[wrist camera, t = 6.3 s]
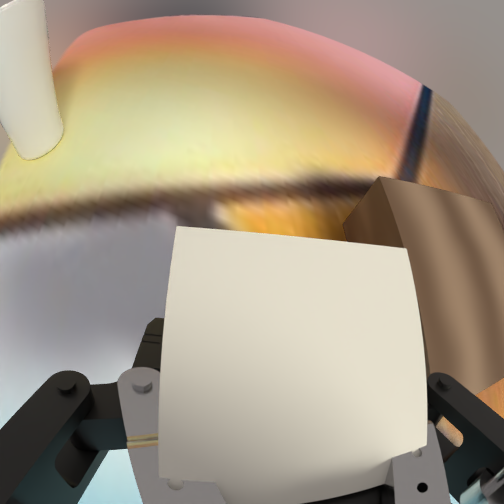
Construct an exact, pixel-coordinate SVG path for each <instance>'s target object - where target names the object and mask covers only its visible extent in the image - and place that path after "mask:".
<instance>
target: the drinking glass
mask: <svg viewBox="0 0 504 504" xmlns="http://www.w3.org/2000/svg"><path fill="white" fill-rule="evenodd" d="M0 123H1V125H2V127H3V128H4V130H5V132H6V133H7V135H8V137H9V139H10V140H11V142H12V144H13V146H14V148H15V150H16V152H17V153H18V155H19V156H20V157H21V158H22V159H25V160H33V159H37V158H39V157H41V156H43V155H45V154H47V153H48V152H49V151H51V150H52V149H53V148H54V147H55V146H56V145H57V144H58V143H59V141H60V140H61V138H62V136H63V132H64V126H63V122H62V119H61V116H60V113H59V108H58V103H57V98H56V93H55V87H54V81H53V74H52V66H51V58H50V48H49V37H48V28H47V19H46V12H45V6H44V0H14V1H11V2H10V3H7V4H6V5H4V6H2V7H0Z"/></svg>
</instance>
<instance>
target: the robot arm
mask: <svg viewBox="0 0 504 504" xmlns="http://www.w3.org/2000/svg"><path fill="white" fill-rule="evenodd" d="M163 329H164V318H155V319H154V320H152V321H151V322H150V323H149V324H148V325H147V328H146V330H145V333H144V336H143V338H142V342H141V344H140V347H139V349H138V352H137V355H136V358H135V361H134V364H133V367H132V369H129V370H127V371H125V372H124V373H122V374H121V376H120V377H119V379H118V381H117V382H114V383H110V384H95V385H90V383H89V381H88V379H87V378H86V377H85V376H84V375H83V374H81V373H79V372H76V371H70V370H69V371H61V372H58V373H56V374H54V375H52V376H51V377H50V378H49V379H48V380H47V381H46V382H45V383H44V384H43V385H42V386H41V387H40V388H39V389H38V390H37V391H36V392H35V393H34V394H33V395H32V396H31V397H30V398H29V399H28V400H27V401H26V402H25V404H24V405H23V406H22V407H21V408H20V409H19V410H18V411H17V412H16V413H15V414H14V415H13V416H12V417H11V419H10V420H9V421H8V422H7V423H6V424H5V425H4V426H3V427H2V428H1V430H0V504H77V503H78V502H79V500H80V498H81V497H82V495H83V493H84V491H85V490H86V488H87V486H88V485H89V483H90V481H91V480H92V478H93V476H94V474H95V473H96V471H97V469H98V468H99V466H100V464H101V463H102V461H103V459H104V458H105V456H106V454H107V453H108V451H109V450H117V449H128V452H129V456H130V460H131V464H132V468H133V472H134V475H135V479H136V482H137V486H138V489H139V492H140V495H141V499H142V502H143V504H226V502H225V500H224V498H223V496H222V495H221V493H220V491H219V489H218V487H217V485H216V483H215V482H204V481H188V480H182V482H183V484H184V486H183V488H182V489H180V490H172V489H171V488H169V486H168V482H169V480H170V479H168V478H160V477H159V457H158V422H159V389H160V369H161V354H162V341H163ZM426 383H427V445H426V446H424V447H421V448H419V451H420V455H419V457H415V456H414V455H413V454H412V451H410V452H407V453H404V454H401V455H398V456H395V457H392V459H391V463H390V466H389V470H388V473H387V476H386V480H385V483H384V484H382V485H379V486H376V487H372V488H369V489H366V490H362V491H359V492H355V493H351V494H347V495H343V496H339V497H334V498H329V499H324V500H319V501H314V502H308V503H301V504H452V503H451V502H450V495H449V493H450V494H451V495H452V496H453V497H454V498H455V499H456V500H457V501H458V502H459V504H504V419H503V418H502V417H501V416H499V415H498V414H497V413H496V412H495V411H493V410H492V409H491V408H490V407H488V406H487V405H486V404H485V403H484V402H482V401H481V400H480V399H479V398H478V397H476V396H475V395H474V394H473V393H471V392H470V391H469V390H468V389H466V388H465V387H464V386H463V385H462V384H460V383H459V382H458V381H457V380H455V379H454V378H453V377H451V376H450V375H448V374H445V373H441V372H435V373H432V374H430V375H429V377H428V379H427V381H426ZM443 416H444V417H445V418H446V419H447V420H448V421H449V422H450V423H451V424H453V425H454V426H455V427H456V428H457V429H458V430H459V431H460V432H461V433H462V434H463V443H462V445H461V446H460V447H456V446H454V445H453V444H452V443H451V442H450V441H449V440H448V439H447V438H446V437H445V436H444V435H443V434H442V433H441V432H440V431H439V430H438V429H437V428H436V425H437V424H438V423H439V421H440V420H441V418H442V417H443Z"/></svg>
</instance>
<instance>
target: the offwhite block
mask: <svg viewBox="0 0 504 504" xmlns="http://www.w3.org/2000/svg"><path fill="white" fill-rule="evenodd" d="M426 445H427V383H426V367H425V355H424V345H423V337H422V329H421V321H420V314H419V308H418V302H417V296H416V291H415V285H414V280H413V275H412V270H411V266H410V261H409V257H408V253H407V249H406V248H397V247H389V246H380V245H371V244H362V243H353V242H344V241H335V240H325V239H315V238H305V237H295V236H285V235H275V234H264V233H253V232H242V231H231V230H219V229H207V228H195V227H182V226H177V227H176V233H175V239H174V246H173V253H172V260H171V267H170V275H169V282H168V291H167V299H166V309H165V318H164V329H163V341H162V354H161V369H160V389H159V422H158V457H159V477H160V478H168V479H170V480H169V482H168V486H169V488H171V489H172V490H180V489H182V488H183V486H184V484H183V482H182V480H188V481H204V482H215V483H216V485H217V487H218V489H219V491H220V493H221V495H222V496H223V498H224V500H225V502H226V504H301V503H308V502H314V501H319V500H324V499H329V498H334V497H339V496H343V495H347V494H351V493H355V492H359V491H362V490H366V489H369V488H372V487H376V486H379V485H382V484H384V483H385V480H386V476H387V473H388V470H389V466H390V463H391V459H392V457H395V456H398V455H401V454H404V453H407V452H410V451H412V454H413V455H414V456H415V457H419V455H420V451H419V448H421V447H424V446H426Z"/></svg>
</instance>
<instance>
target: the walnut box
mask: <svg viewBox="0 0 504 504" xmlns="http://www.w3.org/2000/svg"><path fill="white" fill-rule="evenodd" d="M343 227H344V231H345V235H346V240H347V242H353V243H362V244H371V245H380V246H389V247H397V248H406V249H407V253H408V257H409V261H410V266H411V270H412V275H413V280H414V285H415V291H416V296H417V302H418V308H419V314H420V321H421V329H422V337H423V345H424V355H425V367H426V381H427V379H428V377H429V375H430V374H432V373H435V372H441V373H445V374H448V375H450V376H451V377H453V378H454V379H455V380H457V381H458V382H459V383H460V384H462V385H463V386H464V387H465V388H466V389H468V390H469V391H470V392H471V393H473V394H474V395H476V394H478V393H480V392H481V391H483V390H485V389H486V388H488V387H490V386H491V385H493V384H494V383H496V382H498V381H499V380H501V379H502V378H504V231H503V228H502V226H501V223H500V221H499V219H498V216H497V214H496V212H495V210H494V208H493V205H492V203H489V202H485V201H482V200H479V199H475V198H472V197H468V196H464V195H461V194H457V193H453V192H449V191H445V190H441V189H437V188H433V187H429V186H425V185H420V184H416V183H411V182H406V181H402V180H397V179H392V178H386V177H381V176H379V177H378V178H377V179H376V181H375V182H374V184H373V185H372V186H371V188H370V189H369V190H368V192H367V193H366V194H365V196H364V197H363V198H362V200H361V201H360V202H359V204H358V205H357V206H356V207H355V209H354V210H353V211H352V213H351V214H350V215H349V217H348V218H347V219H346V220H345V222H344V223H343Z"/></svg>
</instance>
